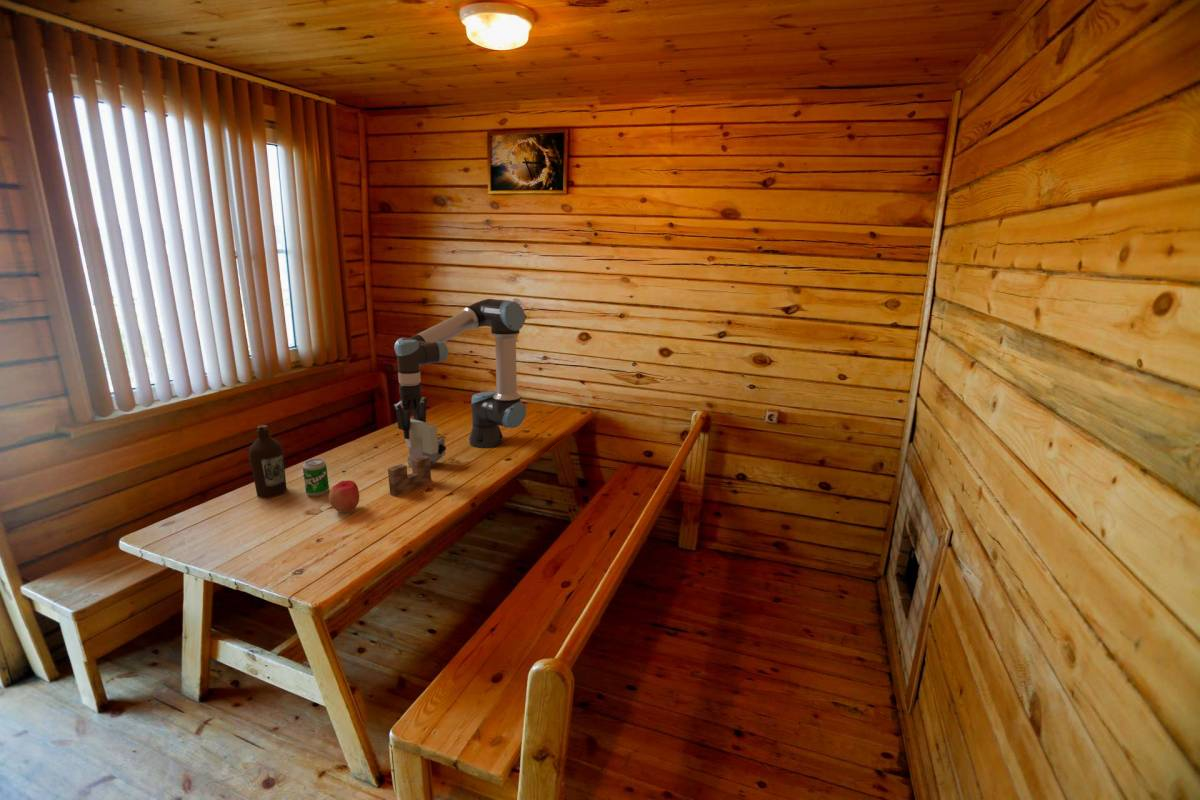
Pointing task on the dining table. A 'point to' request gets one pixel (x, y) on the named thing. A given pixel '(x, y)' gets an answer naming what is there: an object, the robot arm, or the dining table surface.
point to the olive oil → (267, 464)
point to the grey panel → (424, 436)
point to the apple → (344, 496)
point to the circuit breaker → (433, 457)
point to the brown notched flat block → (409, 476)
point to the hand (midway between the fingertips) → (413, 445)
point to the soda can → (315, 477)
